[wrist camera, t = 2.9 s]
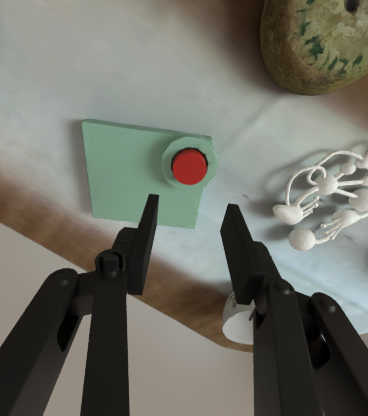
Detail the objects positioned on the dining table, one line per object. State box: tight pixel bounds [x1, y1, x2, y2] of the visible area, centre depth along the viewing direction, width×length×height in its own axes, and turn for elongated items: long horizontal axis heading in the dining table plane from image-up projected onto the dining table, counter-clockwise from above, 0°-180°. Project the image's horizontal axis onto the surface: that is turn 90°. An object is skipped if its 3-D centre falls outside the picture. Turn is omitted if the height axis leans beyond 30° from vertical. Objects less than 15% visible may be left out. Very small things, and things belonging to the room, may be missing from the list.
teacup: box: [222, 290, 255, 344], centre depth 41 cm, size 15×12×8 cm
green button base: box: [81, 119, 218, 229], centre depth 28 cm, size 17×14×4 cm
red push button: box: [173, 149, 206, 185], centre depth 25 cm, size 4×4×2 cm
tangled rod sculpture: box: [273, 150, 368, 251], centre depth 29 cm, size 19×14×4 cm
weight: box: [260, 0, 368, 96], centre depth 19 cm, size 14×13×5 cm
